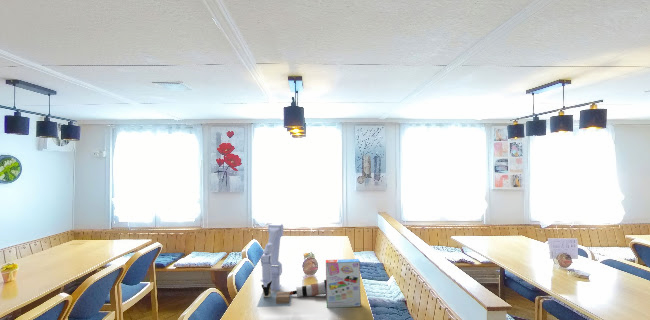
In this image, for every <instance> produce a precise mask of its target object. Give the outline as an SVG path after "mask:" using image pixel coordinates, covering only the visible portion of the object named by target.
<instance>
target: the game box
mask: <svg viewBox="0 0 650 320" xmlns="http://www.w3.org/2000/svg"><path fill="white" fill-rule="evenodd" d="M325 280H326V292H327V296H326V308H329V309H330V308H351V307H352V308H353V307H357V308H358V307H362V302H361V299H362V298H361V261H360V259H359V258H351V259H350V258H349V259H346V258H345V259H326V260H325Z"/></svg>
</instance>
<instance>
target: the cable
mask: <svg viewBox="0 0 650 320" xmlns="http://www.w3.org/2000/svg"><path fill="white" fill-rule="evenodd" d="M289 292H290V295H292V296H293V295H296V297H297V298H301V297H311V296H312V297H315V296H320V295H321V296H323V295H325V296H326V297H327V292H326V279H324V280H323V281H322V282H318V283H313V284H308V285H302V286H296V289H295V290H291V291H289Z"/></svg>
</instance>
